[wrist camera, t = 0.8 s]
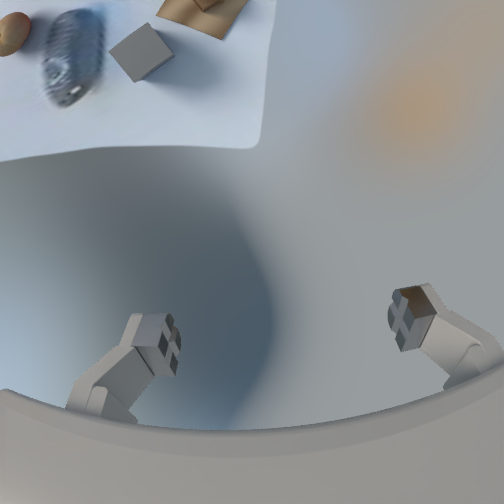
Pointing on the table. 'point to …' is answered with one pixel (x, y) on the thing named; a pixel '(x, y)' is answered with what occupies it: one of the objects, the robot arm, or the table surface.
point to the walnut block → (207, 4)
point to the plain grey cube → (141, 53)
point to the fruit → (13, 32)
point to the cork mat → (202, 15)
